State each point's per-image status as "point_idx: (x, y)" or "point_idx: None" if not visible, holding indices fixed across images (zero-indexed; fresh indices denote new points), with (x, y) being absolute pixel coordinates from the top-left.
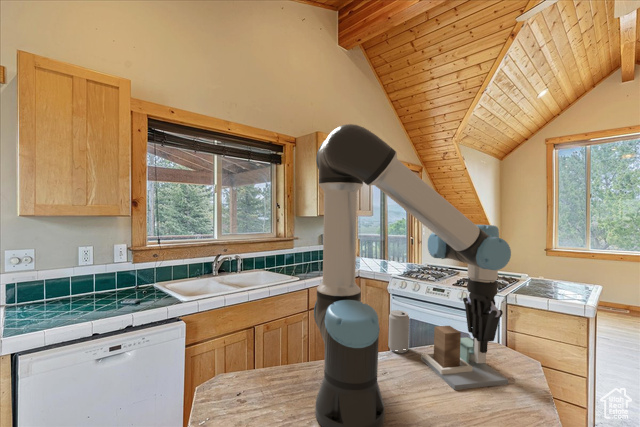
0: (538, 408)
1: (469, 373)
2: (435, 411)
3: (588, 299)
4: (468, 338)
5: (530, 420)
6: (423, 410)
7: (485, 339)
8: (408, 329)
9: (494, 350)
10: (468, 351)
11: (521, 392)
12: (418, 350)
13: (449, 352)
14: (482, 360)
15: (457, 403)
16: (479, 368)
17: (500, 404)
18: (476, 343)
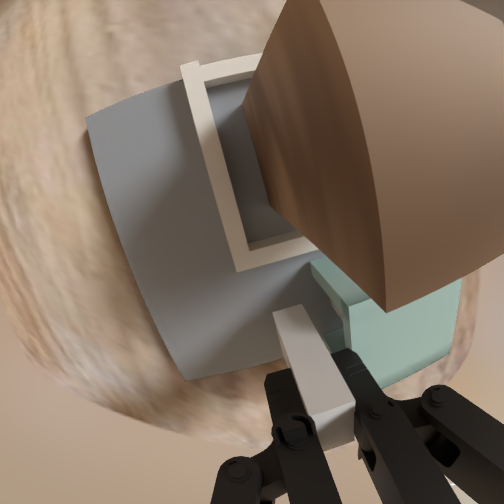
0: (69, 374)
1: (208, 237)
2: (5, 49)
3: None
4: (441, 345)
5: (11, 320)
6: (14, 19)
7: (226, 475)
8: (493, 10)
9: (411, 391)
10: (336, 301)
11: (140, 380)
12: None
13: (268, 122)
14: (281, 346)
15: (24, 116)
16: (267, 309)
17: (43, 276)
18: (317, 386)
